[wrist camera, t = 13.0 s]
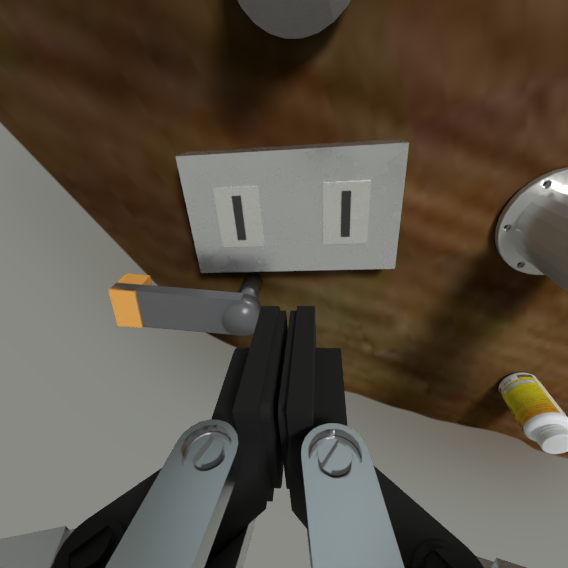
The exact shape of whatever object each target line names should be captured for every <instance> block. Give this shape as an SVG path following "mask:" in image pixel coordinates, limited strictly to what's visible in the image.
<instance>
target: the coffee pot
mask: <svg viewBox="0 0 568 568" xmlns="http://www.w3.org/2000/svg"><path fill="white" fill-rule="evenodd" d="M238 2H239V4H240V6H241V8H242V9H243V11H244V12H245V13H246V14H247V15H248V16H249V18H250V19H251V20H252V21H253V22H254V23H255V24H256V25H257V26H259V27H260V28H262V29H263V30H265V31H266V32H267V33H269V34H272V35H275V36H278V37H281V38H285V39H300V38H305V37H308V36H311V35H314V34H316V33H319V32H320V31H322V30H323V29H325V28H326V27H327V26H329V25H330V24H332V23H333V22H334V21H335V20H336V19H337V18H338V17H339V15H340V14H341V13H342V12H343V11H344V9H345V8H346V7H347V6H348V4H349V2H350V0H238Z"/></svg>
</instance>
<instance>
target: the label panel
mask: <svg viewBox="0 0 568 568" xmlns="http://www.w3.org/2000/svg"><path fill="white" fill-rule="evenodd" d="M408 148H409V142H407V141H405V140H403V139H393V140H377V141H360V142H344V143H328V144H311V145H295V146H279V147H262V148H246V149H230V150H214V151H197V152H185V153H182V154H180V155H178V156H176V161H177V166H178V170H179V175H180V179H181V184H182V189H183V193H184V198H185V202H186V207H187V212H188V216H189V221H190V225H191V230H192V235H193V239H194V244H195V248H196V253H197V258H198V262H199V267H200V272H201V273H221V272H268V271H314V270H361V269H395V263H396V254H397V245H398V236H399V227H400V219H401V210H402V201H403V192H404V183H405V174H406V165H407V157H408Z"/></svg>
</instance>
